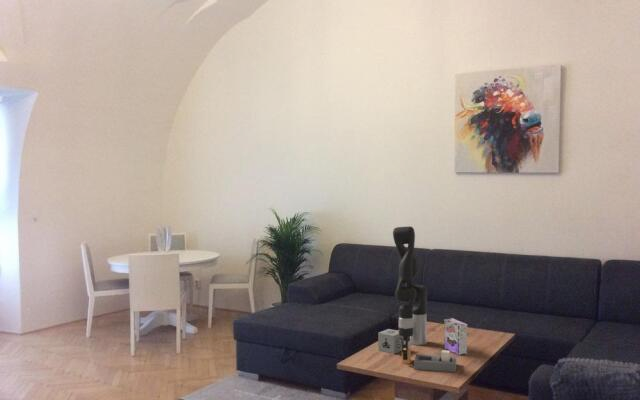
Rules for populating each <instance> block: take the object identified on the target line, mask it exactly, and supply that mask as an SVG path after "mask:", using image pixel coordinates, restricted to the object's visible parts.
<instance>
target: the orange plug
mask: <svg viewBox="0 0 640 400" xmlns="http://www.w3.org/2000/svg"><path fill="white" fill-rule="evenodd" d="M404 350H406V348H404ZM411 352H412V351H411V347H409V348H408V359H407V360H403V352H402V351H401V364H408V365H409V364H411V361H412V360H411V359H412V358H411V354H412V353H411Z"/></svg>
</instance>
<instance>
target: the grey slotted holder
mask: <svg viewBox="0 0 640 400" xmlns="http://www.w3.org/2000/svg"><path fill="white" fill-rule="evenodd" d="M413 368H414V369H413V370H417V371H418V370H419V371H421V370H422V371H433V372H447V373H449V372H450V373H456V371H457V356H455V355H451V351H449V350H447V349H442V350H441V352H440V355H439V354H436V355H435V354H425V353H424V354H423V353H421V354H420V353H416V355H415V358H414V361H413Z"/></svg>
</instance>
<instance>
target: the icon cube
mask: <svg viewBox="0 0 640 400" xmlns="http://www.w3.org/2000/svg"><path fill="white" fill-rule="evenodd" d="M377 336H378V338H377V340H378V344H377V345H378V348H377V349H378V351H379V352H381V353H387V354H391V355H395V353H396V354H397V353H400V352H402V338H403V336H400V335H399V330H396V329H390V328H387V329H385V330H382V331H379V332H378V333H377Z"/></svg>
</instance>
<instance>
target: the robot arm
mask: <svg viewBox="0 0 640 400" xmlns="http://www.w3.org/2000/svg"><path fill="white" fill-rule="evenodd" d="M392 237H393V243H394V245H395V247H396V250H397V254H398V258H399V265H398V281H397V286H396V289H395V292H394V297H395V299H396V300H397V301H398V302H408V303H407V304H402V305H400V306H399V307H398V331H399V335H400V336H403V338H402V351H401V353H402V352H403V360H407V359H408V348H411V347H410V346H411V345H415V346H424V345H427V342H428V340H427V339H428V338H427V333H428V330H427V327H428V325H427V310H428V309H427V308H428V306H427V305H428V288H427V287H426V285H420V284H414V282H413V281H414V280H415V278H416V276H417V275H418V273H419V270H420V266H419V263H418V259H417V257H416V256H415V255H414V252H415V243H416V241H415V240H416V239H415V238H416V234H415V229H414V227H413V226H397V227H394V229H393V230H392ZM405 245H407V247H406V246H405ZM404 285H405V286H404ZM415 302H419V304H418V305H415ZM414 305H415V306H414ZM404 348H406V350H404Z"/></svg>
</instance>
